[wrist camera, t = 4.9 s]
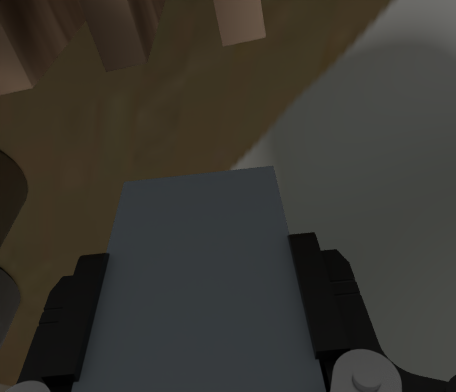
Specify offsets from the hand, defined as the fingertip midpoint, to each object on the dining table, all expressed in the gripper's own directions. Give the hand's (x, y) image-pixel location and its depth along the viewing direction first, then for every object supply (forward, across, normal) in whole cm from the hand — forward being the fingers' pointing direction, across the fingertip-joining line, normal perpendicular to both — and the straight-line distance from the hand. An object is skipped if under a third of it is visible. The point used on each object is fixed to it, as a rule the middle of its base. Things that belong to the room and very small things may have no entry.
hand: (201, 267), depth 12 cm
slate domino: (+3, 0, 0) cm, 3 cm away
